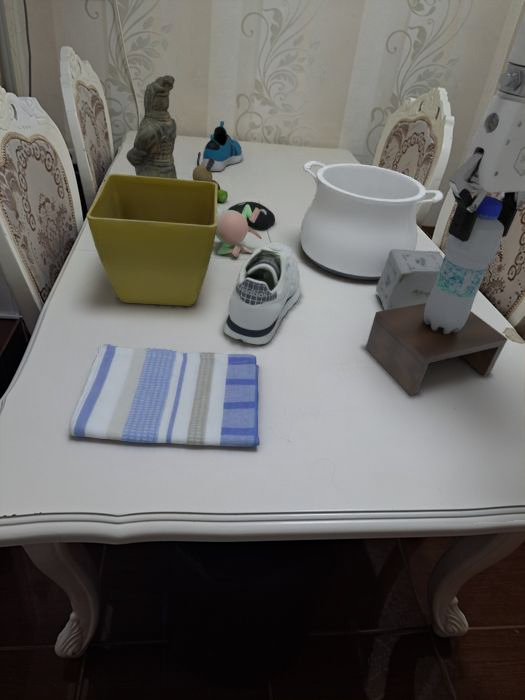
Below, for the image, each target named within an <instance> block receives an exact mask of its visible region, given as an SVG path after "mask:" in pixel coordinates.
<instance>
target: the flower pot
mask: <svg viewBox="0 0 525 700" xmlns="http://www.w3.org/2000/svg"><path fill="white" fill-rule="evenodd" d="M217 189H218V185H217V184H216V183H214V182H207V181H195V180H193V179H183V178H177V179H172V178H160V177H148V176H136V174H135V175H134V174H133V175H132V174H125V173H110V174H108V175H107V176H106V178H105V179H104V182H103V184H102V186H101V188H100V189H99V192H98V194H97V195H96V197H95V199H94V201H93V202H92V204H91V206H90V208H89V209H88V212H87V213H86V218H87V222H88V226H89V230H90V234H91V237H92V240H93V243H94V246H95V249H96V252H97V254H98V256H99V260H100V263H101V266H102V267H103V269H104V272H105V274H106V277H107V278H108V281H109V282H110V284H111V286H112V288H113V290H114V292H115V294H116V296H117V297H118V299H119V301H121V302H122V303H124V304H125V303H128V304H142V305H143V304H144V305H164V306H167V305H168V306H179V307H180V306H182V307H183V306H184V307H191V306H193V305H195V304H196V301H197V299H198V297H199V294H200V292H201V290H202V286H203V284H204V281H205V278H206V276H207V271H208V268H209V265H210V261H211V257H212V254H213V249H214V245H215V239H216V229H217V216H218V200H217Z"/></svg>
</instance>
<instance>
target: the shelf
mask: <svg viewBox="0 0 525 700" xmlns="http://www.w3.org/2000/svg"><path fill="white" fill-rule="evenodd" d="M425 306H426V303H424V304H418V305H412V306H407V307H401V308H395V309H390V310H384V309H383V310H379V311H375V314H374V317H373V320H372V323H371V324H372V325H371V328H370V331H369V335H368V337H367V338H368V339H367V341H366V345H365V350H367V352H368V353H370V355H371V356H372V357H373V358H374V359H375V360H376V361H377V363H379V364H380V366H381V367H382V368H383V369H384V370H385V371H386V373H388V375H390V377H392V378H393V379H394V380H395V381H396V382H397V383H398V385H399V386H400V387H401V388H402V389H403V390H404V392H406V393H407V394H408V396H411V397H412V396H415V395H417V394H418V391H419V390H420V386H421V384H422V382H423V379H424V377H425V375H426V373H427V369H428V367H429V364H431V363H436V362H440V361H444V360H447V359H452V358H456V357H461V358H462V359H463V360H464V361H466V362H467V363H468V364H469V365H470V366H472V367H473V368H474V369H475V370H476V371H477V372H478V373H480V374H481V375H482V376H483V377H486V376H487V377H488V376H490V375H491V373H492V370H493V369H494V367H495V364H496V363H497V361H498V359H499V356H500V355H501V353H502V351H503V349H504V346H505V345H506V343H507V341H508V338H507V337H506V336H505V335H504V334H502V333H501V332H500V331H498V330H496V328H494V327H493V326H492V325H490V324H489V323H487V321H484V319H482V318H481V317H480V316H478V315H477V314H475V313H474V312H473V311H472V310H471V311H470V314H469V316H468V319H467V321H466V323H465V325H464V326H463V327H462V329H461V330H460V331H458V332H452V331H451V332H450V333H449V334H444V333H443V330H444V328H442V327H438V329H437V330H436V331H434V330H432V328H431V324H430V325H428V324H426V323H425V321H424V310H425Z"/></svg>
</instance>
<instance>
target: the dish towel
mask: <svg viewBox="0 0 525 700" xmlns="http://www.w3.org/2000/svg"><path fill="white" fill-rule="evenodd" d="M97 352H98V353H97V354H96V356H95V358H94V361H93V363H92V366H91V368H90V370H89V374H88V376H87V380H86V383H85V384H84V387H83V390H82V391H81V394H80V396H79V398H78V401H77V403H76V406H75V408H74V411H73V414H72V416H71V419H70V422H69V428H68V432H69V433H70V435H71V436H74V437H79V438H81V437H84V438H85V437H86V438H93V439H102V440H112V441H113V440H114V441H122V442H130V443H144V444H145V443H147V444H178V445H179V444H180V445H188V446H220V447H258V446H260V437H259V398H260V397H259V393H260V392H259V369H260V366H259V365H258V364H257V361H258V360H257V356H256V355H254V354H251V353H217V352H215V353H214V352H197V353H193V352H192V353H191V352H180V351H177V350H173V349H165V348H163V349H162V348H150V347H147V348H139V347H138V348H136V347H135V348H134V347H122V346H115V345H112V344H110V343H107V344H102V345H101V346H98V347H97Z"/></svg>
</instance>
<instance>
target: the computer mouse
mask: <svg viewBox="0 0 525 700" xmlns="http://www.w3.org/2000/svg"><path fill="white" fill-rule="evenodd" d="M247 204H248V205H249V206H250V208H251V211H252V213H253V211H254V210H255V208H258V209H259V210H260V213H259V215H258V217H257V218H256V220H255V222H254V223H253V222H251V221H250V220H249V218H248V217H247V224H248V226H249V227H251V228H252V229H257V230H261V231H262V230H266V229H268V228H270V227H271V226H273V225H274V224H275V222H276V216H275V214H274V213H273V212H272V211H271V210H270V209H269V208H268V207H266V206H265V205H263V204H262V203H259V202H256V201H243V202H242V201H241V202H238V203H236V204H233V205H232V206H229V208H227V210H234V211H237V212H239V213H240V214H242V212H243V210H244V207H245V206H246V205H247Z"/></svg>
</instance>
